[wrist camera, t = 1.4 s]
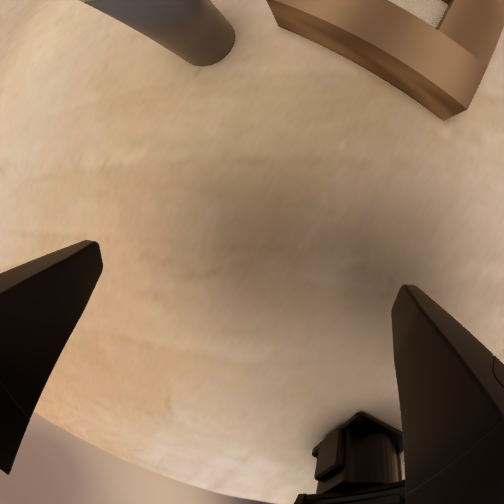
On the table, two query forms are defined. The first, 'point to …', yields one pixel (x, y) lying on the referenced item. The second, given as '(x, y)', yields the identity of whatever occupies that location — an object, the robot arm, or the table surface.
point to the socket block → (405, 44)
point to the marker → (176, 26)
